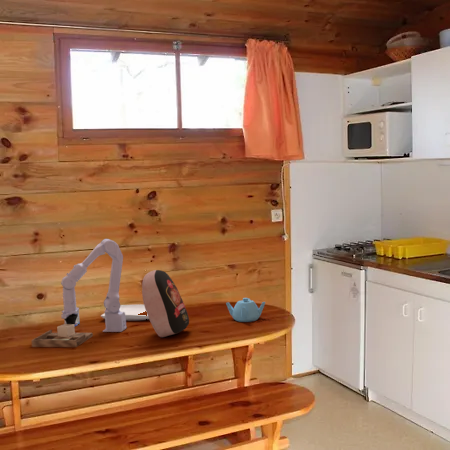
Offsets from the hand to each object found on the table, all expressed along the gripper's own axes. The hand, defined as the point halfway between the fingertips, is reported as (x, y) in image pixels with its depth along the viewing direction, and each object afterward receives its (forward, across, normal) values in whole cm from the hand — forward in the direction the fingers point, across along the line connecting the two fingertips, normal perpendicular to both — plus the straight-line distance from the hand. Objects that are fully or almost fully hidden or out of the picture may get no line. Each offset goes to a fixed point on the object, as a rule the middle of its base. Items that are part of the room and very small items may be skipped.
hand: (71, 330), depth 274 cm
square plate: (+3, -41, +16) cm, 44 cm away
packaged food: (+3, -3, +46) cm, 46 cm away
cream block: (+1, +4, 0) cm, 5 cm away
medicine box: (+3, -19, -8) cm, 21 cm away
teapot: (+3, -32, +78) cm, 85 cm away
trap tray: (+3, +9, 0) cm, 10 cm away
